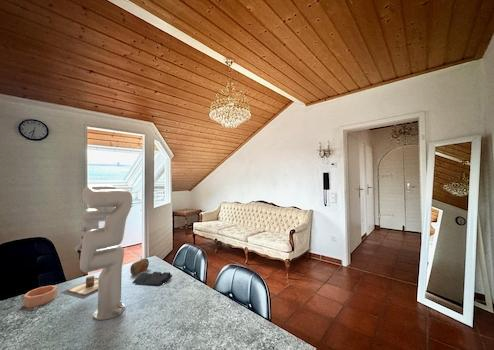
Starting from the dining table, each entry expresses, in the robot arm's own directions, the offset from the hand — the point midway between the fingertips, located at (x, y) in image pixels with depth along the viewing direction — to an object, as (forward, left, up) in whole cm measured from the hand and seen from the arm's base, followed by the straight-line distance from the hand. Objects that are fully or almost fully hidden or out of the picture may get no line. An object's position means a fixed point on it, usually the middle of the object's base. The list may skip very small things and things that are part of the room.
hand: (90, 257), depth 126 cm
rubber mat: (0, 0, -18) cm, 18 cm away
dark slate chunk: (-28, -21, -19) cm, 40 cm away
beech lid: (0, 0, -18) cm, 18 cm away
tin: (-10, -27, -18) cm, 34 cm away
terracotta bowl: (+11, +18, -18) cm, 28 cm away
